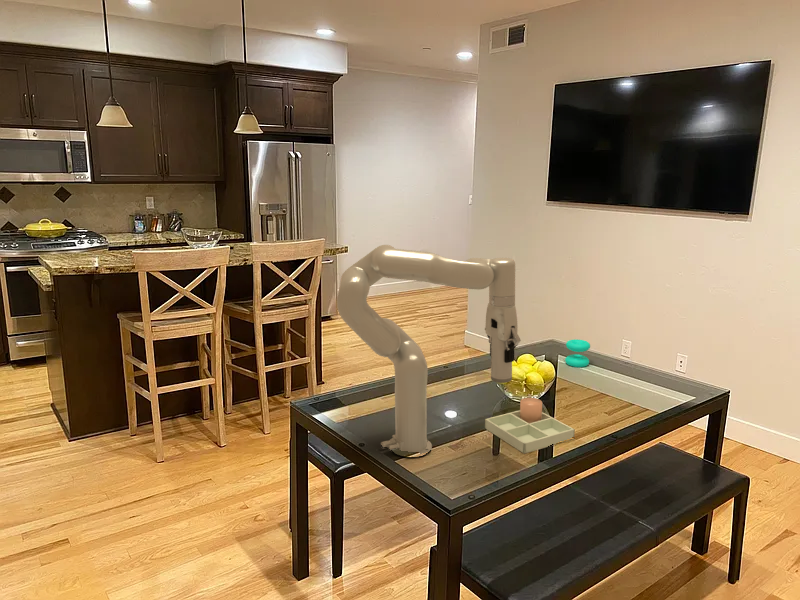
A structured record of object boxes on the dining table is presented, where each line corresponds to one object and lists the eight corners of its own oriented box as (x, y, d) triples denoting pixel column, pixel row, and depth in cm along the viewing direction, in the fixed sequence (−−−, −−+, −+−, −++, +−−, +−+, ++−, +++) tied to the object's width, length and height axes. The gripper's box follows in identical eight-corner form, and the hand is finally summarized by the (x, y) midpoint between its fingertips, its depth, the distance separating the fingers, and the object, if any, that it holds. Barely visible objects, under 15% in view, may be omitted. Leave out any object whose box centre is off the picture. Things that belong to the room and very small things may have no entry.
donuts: (581, 346, 246) (561, 341, 253) (579, 369, 248) (560, 363, 256) (595, 342, 252) (575, 337, 259) (593, 364, 254) (574, 358, 262)
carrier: (524, 456, 176) (524, 443, 175) (484, 430, 193) (485, 419, 192) (574, 441, 185) (574, 429, 184) (532, 417, 202) (532, 407, 201)
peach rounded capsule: (529, 430, 190) (529, 407, 188) (515, 422, 196) (516, 400, 194) (545, 426, 193) (546, 403, 192) (531, 418, 199) (532, 396, 198)
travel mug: (515, 377, 180) (515, 313, 175) (507, 384, 174) (508, 318, 170) (495, 374, 183) (495, 311, 178) (487, 381, 177) (487, 316, 173)
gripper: (474, 296, 179) (474, 353, 183) (510, 308, 164) (510, 369, 168) (494, 293, 182) (494, 349, 186) (531, 304, 167) (530, 364, 171)
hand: (501, 358), depth 177 cm, fingers closed on travel mug, 6 cm apart
